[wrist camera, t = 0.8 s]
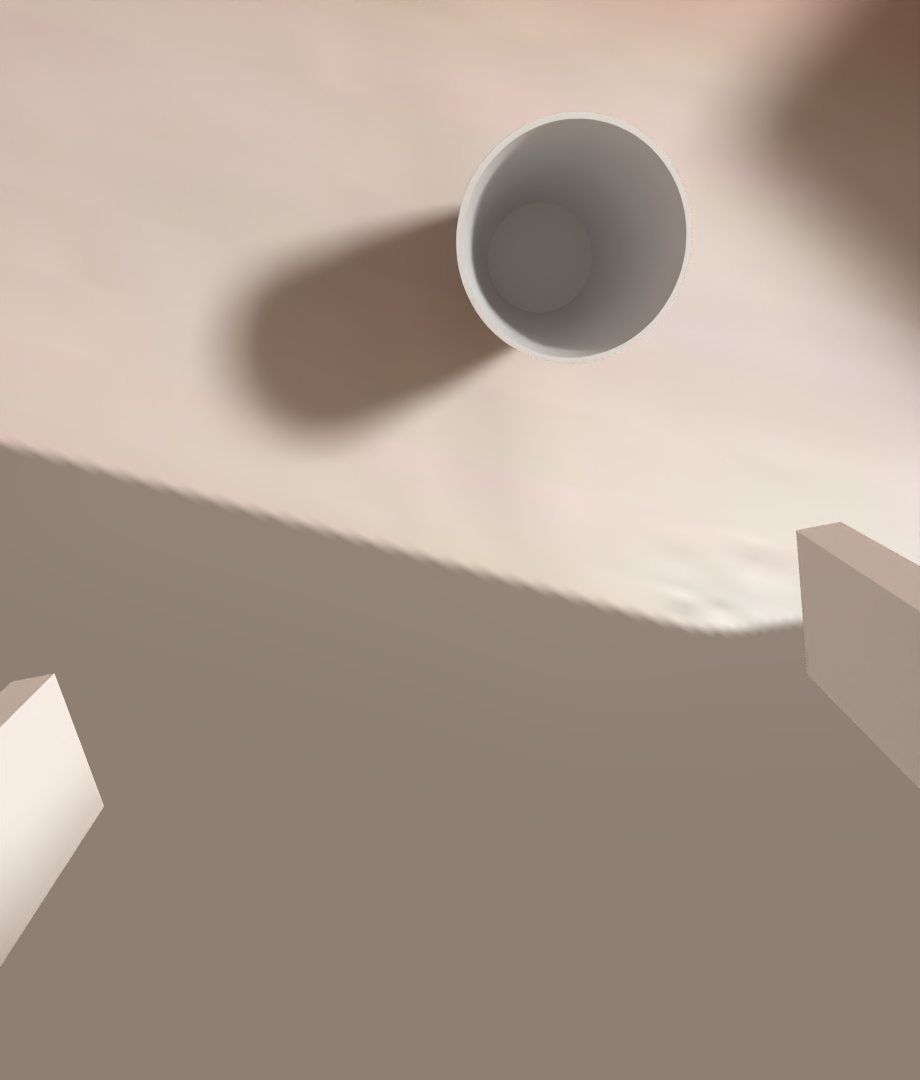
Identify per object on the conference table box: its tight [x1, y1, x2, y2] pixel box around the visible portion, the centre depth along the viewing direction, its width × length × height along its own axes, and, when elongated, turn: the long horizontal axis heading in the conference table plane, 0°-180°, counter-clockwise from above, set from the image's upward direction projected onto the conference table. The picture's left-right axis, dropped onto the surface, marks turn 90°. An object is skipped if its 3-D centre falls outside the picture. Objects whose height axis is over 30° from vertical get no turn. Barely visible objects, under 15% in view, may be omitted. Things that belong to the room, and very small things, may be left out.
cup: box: [456, 112, 692, 363], centre depth 33 cm, size 8×8×10 cm
